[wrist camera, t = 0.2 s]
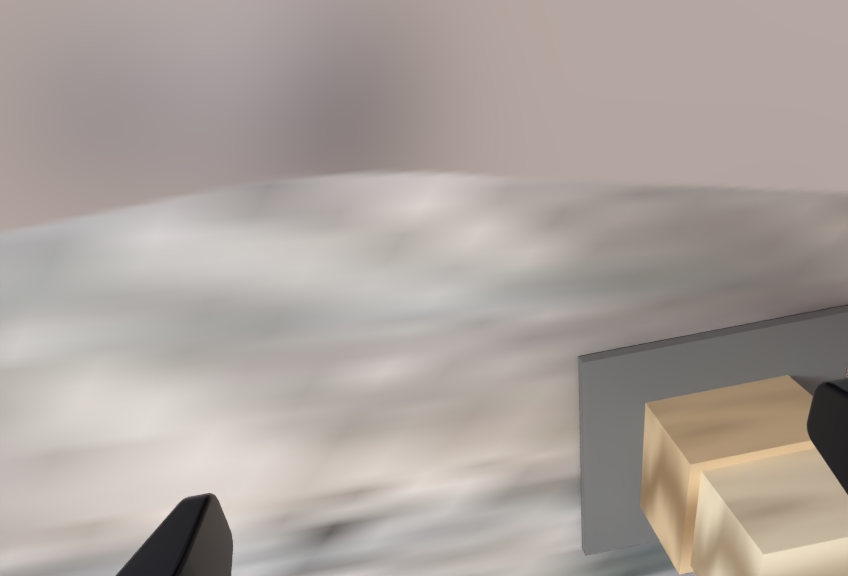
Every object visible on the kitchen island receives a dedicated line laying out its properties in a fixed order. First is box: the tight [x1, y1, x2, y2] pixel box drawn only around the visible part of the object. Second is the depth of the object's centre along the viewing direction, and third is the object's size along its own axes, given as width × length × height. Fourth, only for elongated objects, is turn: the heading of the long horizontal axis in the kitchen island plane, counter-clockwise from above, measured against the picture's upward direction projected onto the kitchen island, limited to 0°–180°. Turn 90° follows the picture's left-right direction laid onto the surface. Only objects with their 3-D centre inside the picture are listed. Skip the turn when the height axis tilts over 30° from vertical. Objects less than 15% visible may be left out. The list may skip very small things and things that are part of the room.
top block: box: [690, 448, 848, 576], centre depth 24 cm, size 6×6×4 cm
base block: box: [640, 375, 816, 574], centre depth 27 cm, size 7×7×4 cm
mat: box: [579, 305, 848, 556], centre depth 29 cm, size 13×13×1 cm
